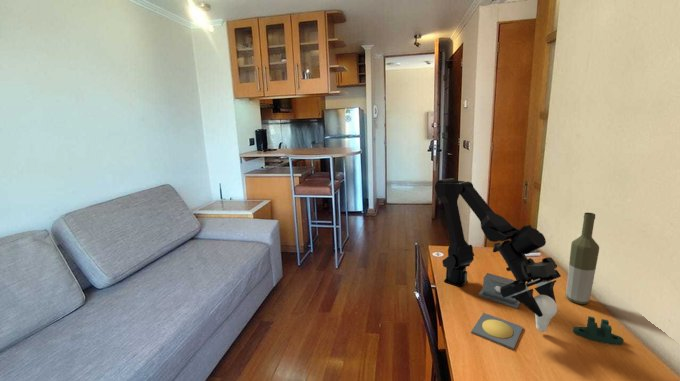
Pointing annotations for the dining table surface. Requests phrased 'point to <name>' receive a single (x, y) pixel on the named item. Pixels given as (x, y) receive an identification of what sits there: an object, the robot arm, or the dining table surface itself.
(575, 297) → the bottle
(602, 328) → the mount
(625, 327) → the dining table surface
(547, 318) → the lightbulb
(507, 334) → the parts mat
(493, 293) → the lamp housing
